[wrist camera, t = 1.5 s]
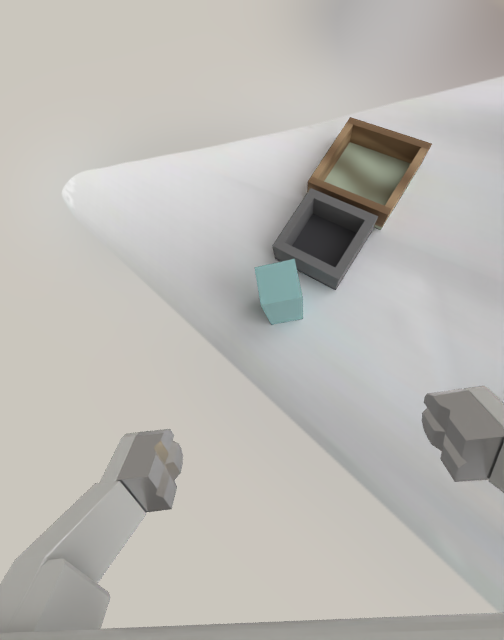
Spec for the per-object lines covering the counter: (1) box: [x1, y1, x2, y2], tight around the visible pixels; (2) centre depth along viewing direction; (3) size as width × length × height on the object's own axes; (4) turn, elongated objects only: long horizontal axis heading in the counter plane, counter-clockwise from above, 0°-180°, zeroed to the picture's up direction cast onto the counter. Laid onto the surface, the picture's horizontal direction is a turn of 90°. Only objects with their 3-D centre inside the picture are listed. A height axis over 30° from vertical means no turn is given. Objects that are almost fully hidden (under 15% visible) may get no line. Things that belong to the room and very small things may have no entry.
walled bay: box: [308, 117, 432, 230], centre depth 40 cm, size 12×12×4 cm
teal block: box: [255, 259, 303, 325], centre depth 34 cm, size 4×4×10 cm
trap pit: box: [273, 188, 378, 290], centre depth 38 cm, size 10×10×4 cm
